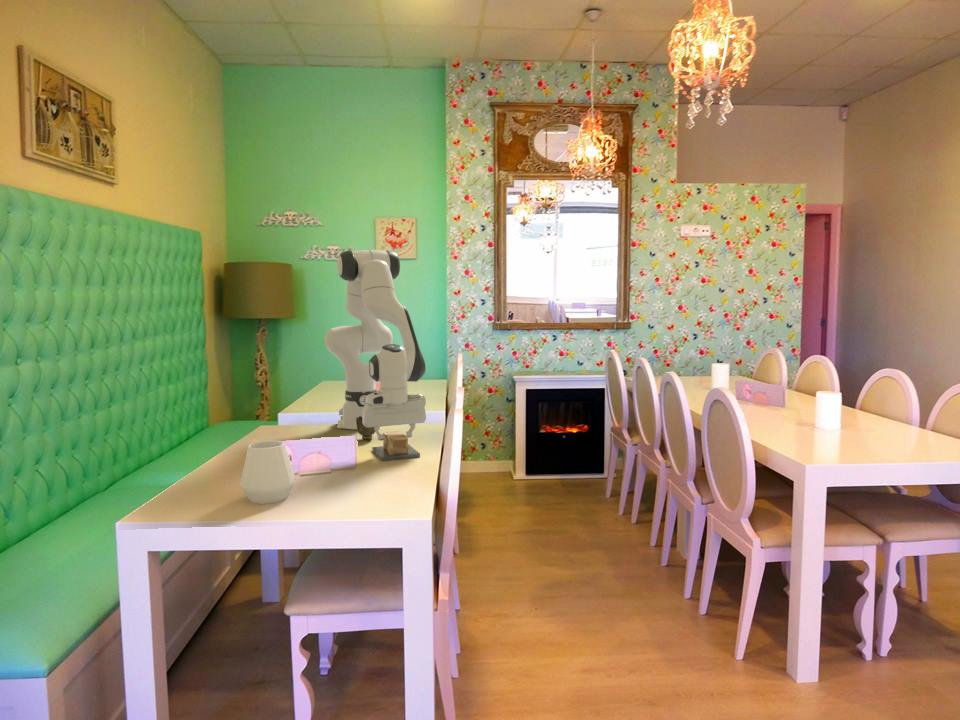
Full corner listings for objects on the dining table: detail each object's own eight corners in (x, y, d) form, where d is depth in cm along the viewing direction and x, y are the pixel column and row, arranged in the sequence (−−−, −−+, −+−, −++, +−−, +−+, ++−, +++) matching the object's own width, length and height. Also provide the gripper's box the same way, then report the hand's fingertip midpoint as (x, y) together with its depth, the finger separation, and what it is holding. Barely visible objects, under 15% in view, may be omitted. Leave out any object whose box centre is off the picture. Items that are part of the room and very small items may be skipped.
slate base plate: (372, 450, 213) (371, 438, 212) (407, 447, 217) (407, 435, 217) (382, 461, 200) (382, 448, 199) (420, 457, 204) (419, 444, 204)
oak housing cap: (383, 447, 212) (383, 432, 211) (399, 446, 214) (399, 431, 213) (391, 454, 203) (390, 439, 202) (408, 452, 205) (407, 437, 204)
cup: (375, 441, 225) (375, 419, 224) (354, 442, 225) (353, 419, 225) (379, 437, 233) (378, 415, 232) (358, 437, 233) (358, 415, 232)
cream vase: (231, 498, 165) (228, 444, 164) (278, 486, 175) (276, 435, 173) (257, 510, 156) (254, 453, 155) (306, 496, 166) (304, 443, 164)
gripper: (422, 392, 213) (423, 433, 215) (360, 396, 206) (361, 439, 207) (428, 395, 208) (429, 437, 209) (364, 399, 200) (365, 443, 202)
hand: (395, 438), depth 208 cm, fingers open, 8 cm apart
